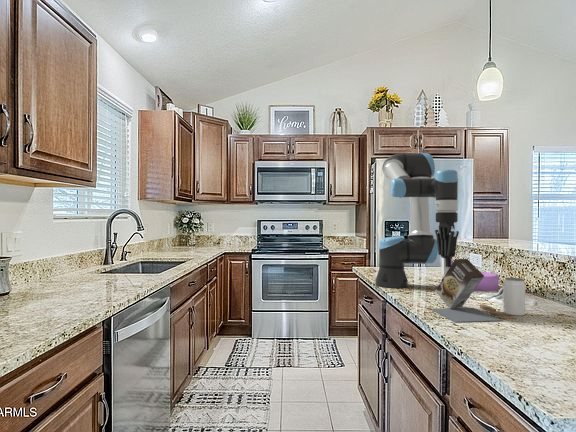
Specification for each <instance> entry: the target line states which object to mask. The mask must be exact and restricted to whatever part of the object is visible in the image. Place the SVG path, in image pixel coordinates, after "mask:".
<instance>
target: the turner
mask: <svg viewBox="0 0 576 432" xmlns="http://www.w3.org/2000/svg"><path fill="white" fill-rule="evenodd" d="M479 308H480V309H481V310H483V311H486V312H488V314H490V315H492V316H493V315H494V317H497V318H498V317H499V319H502V320H515V319H516V318H515V316H512V315H508V314H505V313H504V312H503V311H500V310H497V308H494V307H492V306H489V305H486V304H479Z"/></svg>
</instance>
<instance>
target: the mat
mask: <svg viewBox="0 0 576 432" xmlns="http://www.w3.org/2000/svg"><path fill="white" fill-rule="evenodd" d="M431 311H432V312H434V313H436V314H438V315H440V316H442V317H444V318H446V319H447V320H449V321H451V322H453V323H459V324H460V323H485V322H487V323H488V322H503V319H502V318H498V317H497V316H495V315H494V316H493V315H492V314H490V313H486V312H484V311H481V310H479V309H477V308H475V307H461V308H453V309H449V307H447V308H431Z"/></svg>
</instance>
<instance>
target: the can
mask: <svg viewBox="0 0 576 432" xmlns="http://www.w3.org/2000/svg"><path fill="white" fill-rule="evenodd" d="M503 287H504V288H503ZM503 287H502V288H503V304H502V305H503V306H502V308H503V313H505V314H507V315H510V316H512V317H523V316H525V314H526V305H525V298H526V282H525V279H523V278H518V277H505V278H504V281H503Z"/></svg>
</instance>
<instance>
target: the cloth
mask: <svg viewBox="0 0 576 432" xmlns="http://www.w3.org/2000/svg"><path fill="white" fill-rule="evenodd" d="M503 288H504V286H502V287H501V288H499V289H498V292H497V293H495V292H493V293H492V292H491V293H490V292H488V293H487V292H486V293H483V294H480V295H479V297H478V298H481V297H482V298H483V299H488V300H487V302H490V303H495V304H499V305H503ZM482 298H481V299H482ZM536 303H537V302H536V300H534V299H531V298H526V297H525V306H530V307H535V306H536Z"/></svg>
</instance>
